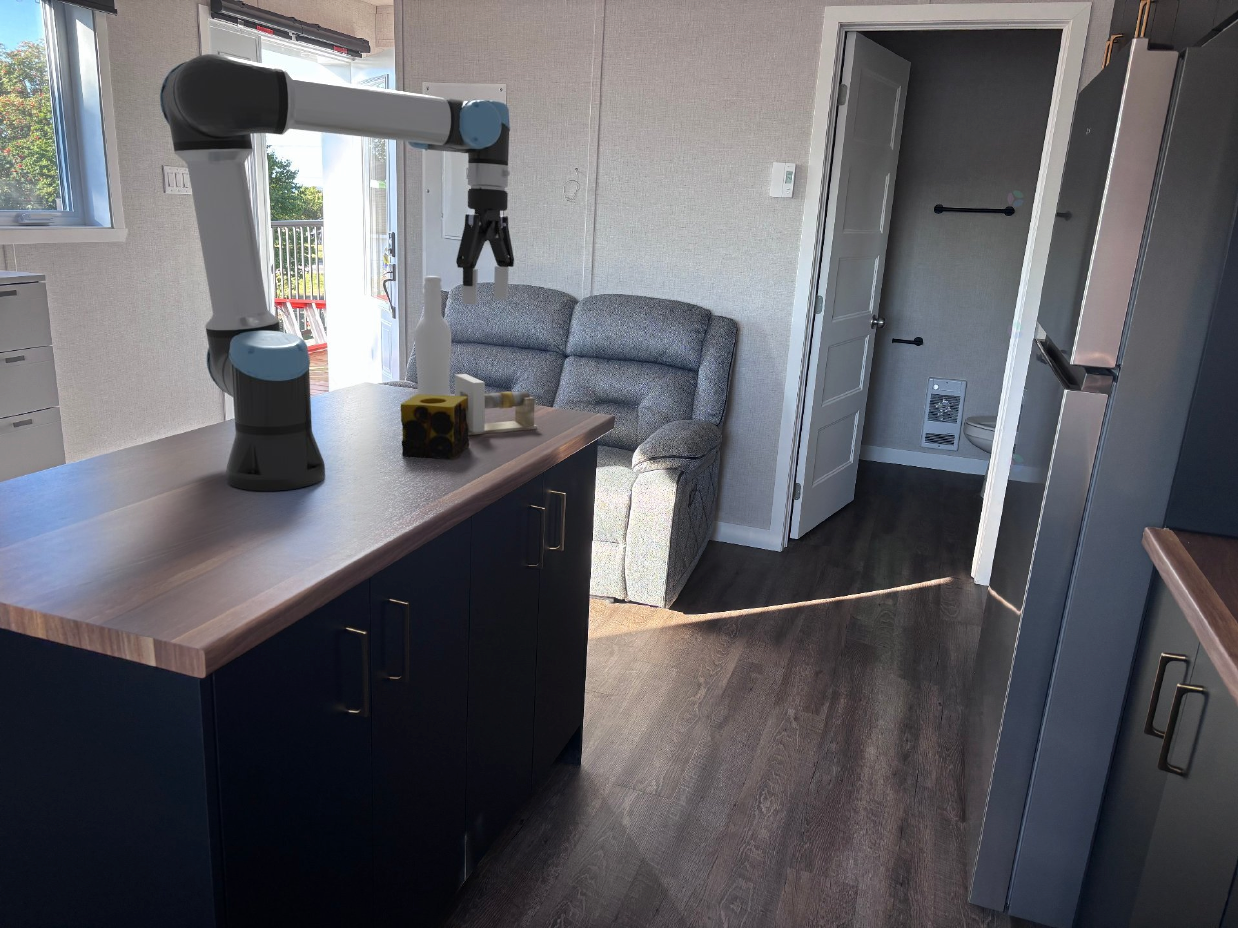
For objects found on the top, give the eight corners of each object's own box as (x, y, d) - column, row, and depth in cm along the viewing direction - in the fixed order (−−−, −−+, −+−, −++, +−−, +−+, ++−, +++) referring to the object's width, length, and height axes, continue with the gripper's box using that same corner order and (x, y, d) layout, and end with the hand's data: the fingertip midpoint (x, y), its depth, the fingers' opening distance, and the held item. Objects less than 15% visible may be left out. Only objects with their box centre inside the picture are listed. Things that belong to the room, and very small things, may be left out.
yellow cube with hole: (469, 447, 176) (469, 396, 174) (455, 460, 167) (455, 406, 164) (417, 443, 177) (417, 393, 175) (400, 456, 168) (399, 403, 165)
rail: (451, 436, 184) (451, 398, 182) (441, 430, 189) (440, 393, 187) (537, 428, 194) (537, 392, 191) (524, 422, 198) (525, 387, 196)
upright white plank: (473, 432, 184) (473, 382, 181) (454, 421, 192) (454, 374, 189) (484, 431, 185) (484, 382, 182) (465, 420, 193) (465, 373, 191)
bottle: (413, 410, 206) (411, 274, 198) (449, 409, 208) (449, 275, 200) (417, 418, 198) (414, 277, 190) (454, 417, 201) (454, 277, 193)
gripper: (475, 185, 161) (473, 307, 167) (532, 192, 185) (529, 299, 190) (437, 184, 164) (437, 304, 169) (498, 191, 187) (496, 296, 192)
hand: (485, 302), depth 179 cm, fingers open, 13 cm apart
